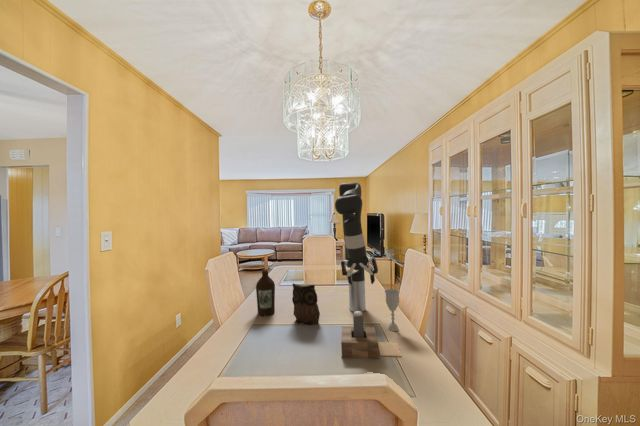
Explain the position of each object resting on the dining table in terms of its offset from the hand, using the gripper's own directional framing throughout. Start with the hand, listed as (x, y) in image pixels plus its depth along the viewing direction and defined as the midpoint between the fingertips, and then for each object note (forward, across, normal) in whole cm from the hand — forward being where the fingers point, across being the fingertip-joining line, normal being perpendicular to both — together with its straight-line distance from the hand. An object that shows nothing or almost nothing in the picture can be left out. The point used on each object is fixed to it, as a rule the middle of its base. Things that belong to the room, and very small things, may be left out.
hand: (361, 283), depth 105 cm
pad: (+28, -7, +1) cm, 29 cm away
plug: (+27, +5, +3) cm, 27 cm away
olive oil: (+24, +62, -22) cm, 70 cm away
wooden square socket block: (+27, +5, +3) cm, 27 cm away
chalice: (+32, -8, -19) cm, 37 cm away
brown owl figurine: (+27, +35, -18) cm, 48 cm away
